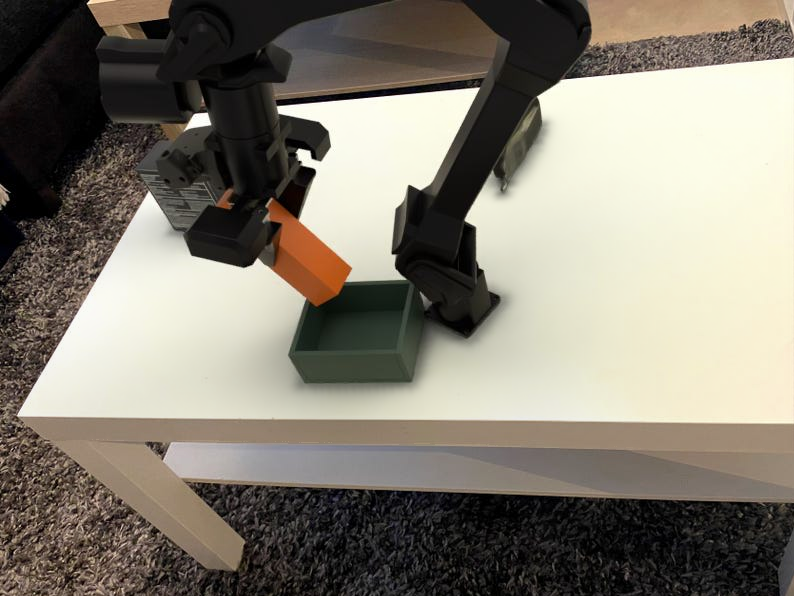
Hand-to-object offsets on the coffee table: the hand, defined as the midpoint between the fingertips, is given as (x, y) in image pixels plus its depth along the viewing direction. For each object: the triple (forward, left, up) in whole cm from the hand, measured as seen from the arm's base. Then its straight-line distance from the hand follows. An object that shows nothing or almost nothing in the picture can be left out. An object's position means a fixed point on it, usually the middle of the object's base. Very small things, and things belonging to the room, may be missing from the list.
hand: (279, 250), depth 75 cm
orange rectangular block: (-5, -2, -5) cm, 7 cm away
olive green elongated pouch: (-4, -35, -12) cm, 38 cm away
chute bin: (-7, -1, -12) cm, 14 cm away
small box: (+27, -7, -12) cm, 30 cm away
